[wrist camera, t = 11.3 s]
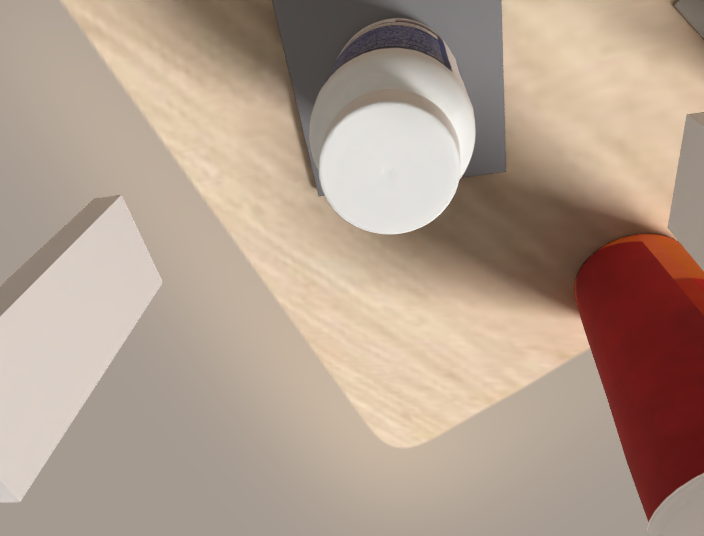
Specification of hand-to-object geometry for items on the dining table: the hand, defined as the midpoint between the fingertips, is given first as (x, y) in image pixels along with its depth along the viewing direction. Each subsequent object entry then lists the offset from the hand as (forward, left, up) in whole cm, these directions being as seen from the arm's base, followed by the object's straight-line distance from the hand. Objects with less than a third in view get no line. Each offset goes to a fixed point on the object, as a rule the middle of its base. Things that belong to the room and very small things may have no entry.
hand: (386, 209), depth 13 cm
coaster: (0, 0, -13) cm, 13 cm away
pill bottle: (0, 0, -12) cm, 12 cm away
